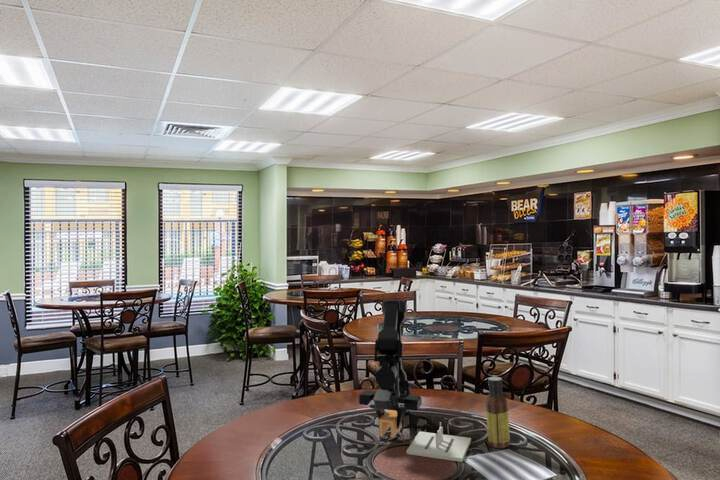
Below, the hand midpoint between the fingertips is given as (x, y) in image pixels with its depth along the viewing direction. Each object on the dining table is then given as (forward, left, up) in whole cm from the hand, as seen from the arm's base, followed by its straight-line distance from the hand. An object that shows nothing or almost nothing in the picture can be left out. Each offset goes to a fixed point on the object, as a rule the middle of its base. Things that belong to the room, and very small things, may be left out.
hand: (390, 427), depth 155 cm
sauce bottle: (+31, +7, -4) cm, 32 cm away
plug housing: (0, 0, -1) cm, 1 cm away
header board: (+15, 0, -4) cm, 16 cm away
